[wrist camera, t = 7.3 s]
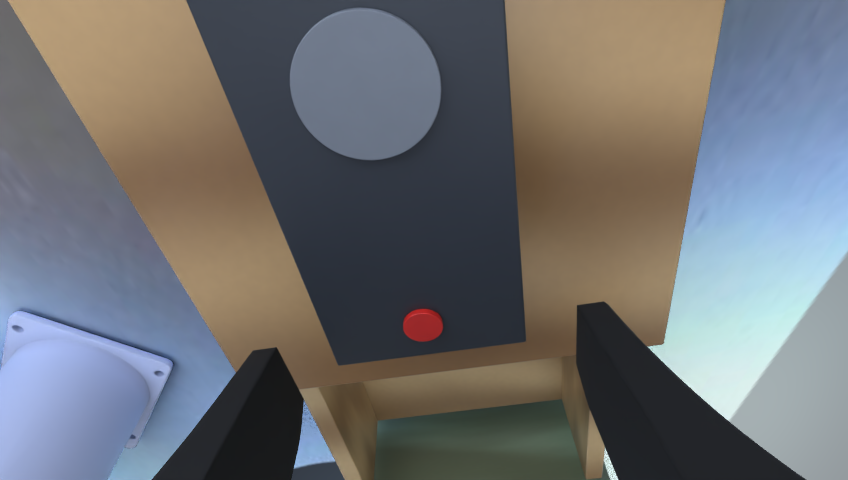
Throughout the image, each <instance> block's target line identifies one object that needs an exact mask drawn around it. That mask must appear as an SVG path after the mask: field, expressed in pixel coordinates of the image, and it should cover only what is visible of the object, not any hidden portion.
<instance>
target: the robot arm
mask: <svg viewBox="0 0 848 480" xmlns="http://www.w3.org/2000/svg"><path fill="white" fill-rule="evenodd" d="M576 365H577V369H578V372H579V376H580V379H581V383H582V386H583V390H584V393H585V397H586V400H587V403H588V406H589V409H590V411H591V414H592V416H593V419H594V421H595V424H596V426H597V428H598V431H599V433H600V436H601V438H602V441H603V443H604V446H605V448H606V450H607V453H608V455H609V458H610V460H611V462H612V465H613V467H614V470H615V472H616V475H617V477H618V479H619V480H806V479H804V478H803V477H802V476H800V475H798V474H797V473H796V472H794V471H793V470H791V469H790V468H789V467H787V466H786V465H785V464H783V463H782V462H781V461H779V460H778V459H777V458H775V457H774V456H773V455H771V454H770V453H768V452H767V451H766V450H764V449H763V448H762V447H760V446H759V445H758V444H757V443H755V442H754V441H753V440H751V439H750V438H749V437H748V436H746V435H745V434H743V433H742V432H741V431H740V430H738V429H737V428H736V427H735V426H734V425H732V424H731V423H730V422H729V421H728V420H726V419H725V418H724V417H723V416H722V415H720V414H719V413H718V412H717V411H716V410H714V409H713V408H712V407H711V406H710V405H709V404H708V403H706V402H705V401H704V400H703V399H702V398H701V397H700V396H698V395H697V394H696V393H695V392H694V391H693V390H692V389H691V388H689V387H688V386H687V385H686V384H685V383H684V382H683V381H682V380H681V379H680V378H679V377H678V376H677V375H676V374H674V373H673V372H672V371H671V370H670V369H669V368H668V367H667V366H666V365H665V364H664V363H663V362H662V361H661V360H660V359H659V358H658V357H657V356H656V355H655V354H654V353H653V352H652V351H651V350H650V349H649V348H648V347H647V346H646V345H645V344H644V343H643V342H642V341H641V340H640V339H639V338H638V337H637V336H636V335H635V334H634V332H633V331H632V330H631V329H630V328H629V327H628V326H627V325H626V324H625V323H624V322H623V320H622V319H621V318H620V317H619V316H618V315H617V314H616V313H615V311H614V310H613V309H612V308H611V307H610V306H609V305H608V304H607V303H606V302H604V301H603V302H596V303H588V304H581V305H577V332H576ZM172 368H173V363H172V361H170V360H169V359H167V358H164V357H161V356H158V355H155V354H152V353H149V352H146V351H143V350H140V349H137V348H134V347H131V346H127V345H124V344H121V343H118V342H115V341H112V340H109V339H106V338H103V337H100V336H97V335H94V334H91V333H88V332H85V331H82V330H79V329H76V328H73V327H70V326H67V325H64V324H61V323H58V322H55V321H52V320H49V319H46V318H43V317H40V316H36V315H33V314H30V313H27V312H24V311H16V312H14V313H13V314H12V315H11V316H10V317H9V319H8V325H7V332H6V338H5V345H4V351H3V358H2V364H1V369H0V480H108V478H109V476H110V474H111V472H112V470H113V468H114V466H115V465H116V463H117V461H118V459H119V457H120V455H121V453H122V451H123V449H124V448H134V447H136V446H137V444H138V442H139V440H140V437H141V435H142V433H143V431H144V429H145V427H146V424H147V422H148V420H149V418H150V416H151V414H152V411H153V409H154V407H155V405H156V403H157V401H158V398H159V396H160V394H161V392H162V390H163V388H164V385H165V383H166V381H167V379H168V377H169V375H170V373H171V370H172ZM303 402H304V398H303V396H302V394H301V393H300V391H299V389H298V387H297V385H296V383H295V381H294V379H293V377H292V375H291V373H290V372H289V370H288V368H287V366H286V364H285V362H284V360H283V358H282V356H281V354H280V352H279V350H278V349H277V347H274V348H267V349H260V350H253V351H252V352H251V354H250V355H249V356H248V358H247V359H246V360H245V361H244V363H243V364H242V366H241V367H240V368H239V370H238V371H237V372H236V374H235V375H234V376H233V378H232V379H231V380H230V382H229V383H228V384H227V386H226V387H225V388H224V390H223V391H222V392H221V394H220V395H219V396H218V398H217V399H216V400H215V402H214V403H213V404H212V406H211V407H210V408H209V410H208V411H207V412H206V414H205V415H204V416H203V417H202V419H201V420H200V421H199V423H198V424H197V425H196V427H195V428H194V429H193V431H192V432H191V433H190V434H189V436H188V437H187V438H186V439H185V440H184V442H183V443H182V444H181V445H180V446H179V448H178V449H177V450H176V451H175V452H174V454H173V455H172V456H171V457H170V459H169V460H168V461H167V462H166V463H165V465H164V466H163V467H162V468H161V469H160V471H159V472H158V473H157V474H156V475H155V476H154V478H153V479H152V480H291V478H292V473H293V469H294V464H295V460H296V455H297V451H298V446H299V441H300V433H301V424H302V414H303Z"/></svg>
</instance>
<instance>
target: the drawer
mask: <svg viewBox="0 0 848 480" xmlns="http://www.w3.org/2000/svg"><path fill="white" fill-rule="evenodd" d="M299 391H300V393H301V394H302V396H303V398H304V401H305V403H306V404H307V406H308V408H309V410H310V412H311V414H312V416H313V418H314V420H315V422H316V424H317V426H318V428H319V430H320V432H321V434H322V436H323V438H324V440H325V442H326V444H327V446H328V447H329V449H330V451H331V453H332V455H333V457H334V459H335V461H336V463H337V465H338V467H339V469H340V471H341V473H342V475H343V477H344V479H345V480H610V478H609V475H608V472H607V469H606V466H605V463H604V450H605V446H604V443H603V441H602V438H601V436H600V433H599V431H598V428H597V426H596V424H595V421H594V419H593V416H592V414H591V411H590V409H589V406H588V403H587V400H586V397H585V393H584V390H583V386H582V383H581V379H580V376H579V372H578V369H577V365H576V355H574V356H565V357H557V358H549V359H541V360H533V361H525V362H517V363H509V364H501V365H493V366H485V367H477V368H469V369H461V370H453V371H445V372H437V373H429V374H421V375H413V376H405V377H397V378H389V379H381V380H373V381H365V382H357V383H349V384H341V385H332V386H324V387H316V388H308V389H300V390H299Z"/></svg>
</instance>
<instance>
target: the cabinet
mask: <svg viewBox="0 0 848 480" xmlns="http://www.w3.org/2000/svg"><path fill="white" fill-rule="evenodd" d="M8 1H9V3H10V5H11V6H12V8H13V10H14V11H15V13H16V15H17V16H18V18H19V19H20V21H21V23H22V24H23V26H24V28H25V29H26V31H27V32H28V34H29V36H30V37H31V39H32V41H33V42H34V44H35V46H36V47H37V49H38V50H39V52H40V54H41V55H42V57H43V59H44V60H45V62H46V63H47V65H48V67H49V68H50V70H51V72H52V73H53V75H54V76H55V78H56V80H57V81H58V83H59V85H60V86H61V88H62V90H63V91H64V93H65V94H66V96H67V98H68V99H69V101H70V103H71V104H72V106H73V107H74V109H75V111H76V112H77V114H78V116H79V117H80V119H81V121H82V122H83V124H84V125H85V127H86V129H87V130H88V132H89V134H90V135H91V137H92V138H93V140H94V142H95V143H96V145H97V147H98V148H99V150H100V151H101V153H102V155H103V156H104V158H105V160H106V161H107V163H108V165H109V166H110V168H111V169H112V171H113V173H114V174H115V176H116V178H117V179H118V181H119V182H120V184H121V186H122V187H123V189H124V191H125V192H126V194H127V196H128V197H129V199H130V200H131V202H132V204H133V205H134V207H135V209H136V210H137V212H138V213H139V215H140V217H141V218H142V220H143V222H144V223H145V225H146V226H147V228H148V230H149V231H150V233H151V235H152V236H153V238H154V240H155V241H156V243H157V244H158V246H159V248H160V249H161V251H162V253H163V254H164V256H165V257H166V259H167V261H168V262H169V264H170V266H171V267H172V269H173V271H174V272H175V274H176V275H177V277H178V279H179V280H180V282H181V284H182V285H183V287H184V288H185V290H186V292H187V293H188V295H189V297H190V298H191V300H192V301H193V303H194V305H195V306H196V308H197V310H198V311H199V313H200V315H201V316H202V318H203V319H204V321H205V323H206V324H207V326H208V328H209V329H210V331H211V332H212V334H213V336H214V337H215V339H216V341H217V342H218V344H219V346H220V347H221V349H222V350H223V352H224V354H225V355H226V357H227V359H228V360H229V362H230V363H231V365H232V367H233V368H234V370H235V372H237V371H238V370H239V368H240V367H241V366H242V364H243V363H244V361H245V360H246V359H247V358H248V356H249V355H250V354H251V352H252V351H253V350H260V349H267V348H274V347H277V349H278V350H279V352H280V354H281V356H282V358H283V360H284V362H285V364H286V366H287V368H288V370H289V372H290V373H291V375H292V377H293V379H294V381H295V383H296V385H297V387H298V389H299V390H300V389H308V388H316V387H324V386H332V385H341V384H349V383H357V382H365V381H373V380H381V379H389V378H397V377H405V376H413V375H421V374H429V373H437V372H445V371H453V370H461V369H469V368H477V367H485V366H493V365H501V364H509V363H517V362H525V361H533V360H541V359H549V358H557V357H565V356H574V355H576V332H577V305H581V304H588V303H596V302H603V301H604V302H606V303H607V304H608V305H609V306H610V307H611V308H612V309H613V310H614V311H615V313H616V314H617V315H618V316H619V317H620V318H621V319H622V320H623V322H624V323H625V324H626V325H627V326H628V327H629V328H630V329H631V330H632V331H633V332H634V334H635V335H636V336H637V337H638V338H639V339H640V340H641V341H642V342H643V343H644V344H645V345H646V346H654V345H662V344H663V343H664V338H665V333H666V327H667V322H668V316H669V311H670V305H671V300H672V294H673V288H674V283H675V277H676V272H677V266H678V261H679V255H680V250H681V244H682V239H683V233H684V228H685V222H686V217H687V211H688V206H689V200H690V195H691V189H692V183H693V178H694V172H695V167H696V161H697V156H698V150H699V145H700V139H701V134H702V128H703V123H704V117H705V112H706V106H707V101H708V95H709V90H710V84H711V79H712V73H713V67H714V62H715V56H716V51H717V45H718V40H719V34H720V29H721V23H722V18H723V12H724V7H725V1H726V0H505V12H506V28H507V43H508V59H509V75H510V91H511V106H512V122H513V138H514V154H515V169H516V185H517V201H518V217H519V233H520V248H521V264H522V280H523V296H524V311H525V327H526V342H522V343H514V344H506V345H498V346H490V347H483V348H475V349H467V350H459V351H451V352H443V353H436V354H428V355H420V356H412V357H404V358H397V359H389V360H381V361H373V362H365V363H357V364H350V365H342V366H338V364H337V362H336V359H335V357H334V355H333V352H332V350H331V347H330V345H329V343H328V340H327V338H326V335H325V333H324V330H323V328H322V326H321V323H320V321H319V318H318V316H317V314H316V311H315V309H314V306H313V304H312V302H311V299H310V297H309V294H308V292H307V290H306V287H305V285H304V282H303V280H302V278H301V275H300V273H299V270H298V268H297V266H296V263H295V261H294V258H293V256H292V254H291V251H290V249H289V246H288V244H287V242H286V239H285V237H284V234H283V232H282V230H281V227H280V225H279V222H278V220H277V217H276V215H275V213H274V210H273V208H272V205H271V203H270V201H269V198H268V196H267V193H266V191H265V189H264V186H263V184H262V181H261V179H260V177H259V174H258V172H257V169H256V167H255V165H254V162H253V160H252V157H251V155H250V153H249V150H248V148H247V145H246V143H245V141H244V138H243V136H242V133H241V131H240V129H239V126H238V124H237V121H236V119H235V117H234V114H233V112H232V109H231V107H230V104H229V102H228V100H227V97H226V95H225V92H224V90H223V88H222V85H221V83H220V80H219V78H218V76H217V73H216V71H215V68H214V66H213V64H212V61H211V59H210V56H209V54H208V52H207V49H206V47H205V44H204V42H203V40H202V37H201V35H200V32H199V30H198V28H197V25H196V23H195V20H194V18H193V16H192V13H191V11H190V8H189V6H188V4H187V1H186V0H8Z"/></svg>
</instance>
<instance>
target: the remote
mask: <svg viewBox="0 0 848 480" xmlns="http://www.w3.org/2000/svg"><path fill="white" fill-rule="evenodd" d="M186 1H187V4H188V6H189V8H190V11H191V13H192V16H193V18H194V20H195V23H196V25H197V28H198V30H199V32H200V35H201V37H202V40H203V42H204V44H205V47H206V49H207V52H208V54H209V56H210V59H211V61H212V64H213V66H214V68H215V71H216V73H217V76H218V78H219V80H220V83H221V85H222V88H223V90H224V92H225V95H226V97H227V100H228V102H229V104H230V107H231V109H232V112H233V114H234V117H235V119H236V121H237V124H238V126H239V129H240V131H241V133H242V136H243V138H244V141H245V143H246V145H247V148H248V150H249V153H250V155H251V157H252V160H253V162H254V165H255V167H256V169H257V172H258V174H259V177H260V179H261V181H262V184H263V186H264V189H265V191H266V193H267V196H268V198H269V201H270V203H271V205H272V208H273V210H274V213H275V215H276V217H277V220H278V222H279V225H280V227H281V230H282V232H283V234H284V237H285V239H286V242H287V244H288V246H289V249H290V251H291V254H292V256H293V258H294V261H295V263H296V266H297V268H298V270H299V273H300V275H301V278H302V280H303V282H304V285H305V287H306V290H307V292H308V294H309V297H310V299H311V302H312V304H313V306H314V309H315V311H316V314H317V316H318V318H319V321H320V323H321V326H322V328H323V330H324V333H325V335H326V338H327V340H328V343H329V345H330V347H331V350H332V352H333V355H334V357H335V359H336V362H337V364H338V366H342V365H350V364H357V363H365V362H373V361H381V360H389V359H397V358H404V357H412V356H420V355H428V354H436V353H443V352H451V351H459V350H467V349H475V348H483V347H490V346H498V345H506V344H514V343H522V342H526V327H525V311H524V296H523V280H522V264H521V248H520V233H519V217H518V201H517V185H516V169H515V154H514V138H513V122H512V106H511V91H510V75H509V59H508V43H507V28H506V12H505V0H186Z"/></svg>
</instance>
